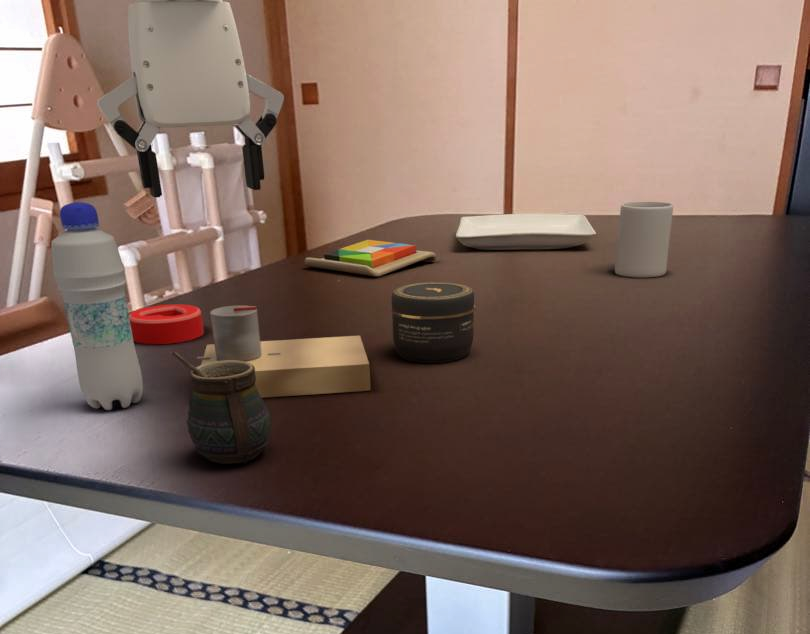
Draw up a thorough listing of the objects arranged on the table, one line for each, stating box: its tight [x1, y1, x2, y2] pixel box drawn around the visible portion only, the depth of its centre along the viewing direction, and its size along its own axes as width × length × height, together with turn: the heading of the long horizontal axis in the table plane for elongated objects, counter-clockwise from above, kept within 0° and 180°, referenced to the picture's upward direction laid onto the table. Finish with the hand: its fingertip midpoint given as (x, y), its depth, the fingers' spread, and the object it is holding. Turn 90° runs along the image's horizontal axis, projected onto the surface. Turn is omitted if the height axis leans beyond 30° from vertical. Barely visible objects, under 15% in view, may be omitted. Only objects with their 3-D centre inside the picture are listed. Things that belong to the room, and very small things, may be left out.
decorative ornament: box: [129, 303, 205, 345], centre depth 114 cm, size 10×10×3 cm
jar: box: [390, 281, 476, 364], centre depth 101 cm, size 10×10×8 cm
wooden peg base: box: [196, 335, 371, 399], centre depth 94 cm, size 19×12×3 cm, turn 97°
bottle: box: [50, 201, 144, 411], centre depth 84 cm, size 7×7×20 cm
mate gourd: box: [170, 350, 271, 465], centre depth 73 cm, size 7×8×10 cm
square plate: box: [455, 213, 597, 251], centre depth 175 cm, size 27×27×4 cm
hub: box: [209, 305, 262, 361], centre depth 92 cm, size 5×5×5 cm
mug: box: [614, 201, 674, 279], centre depth 142 cm, size 12×8×11 cm
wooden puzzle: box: [304, 239, 437, 278], centre depth 155 cm, size 18×19×4 cm
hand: (206, 192), depth 82 cm, fingers open, 9 cm apart
